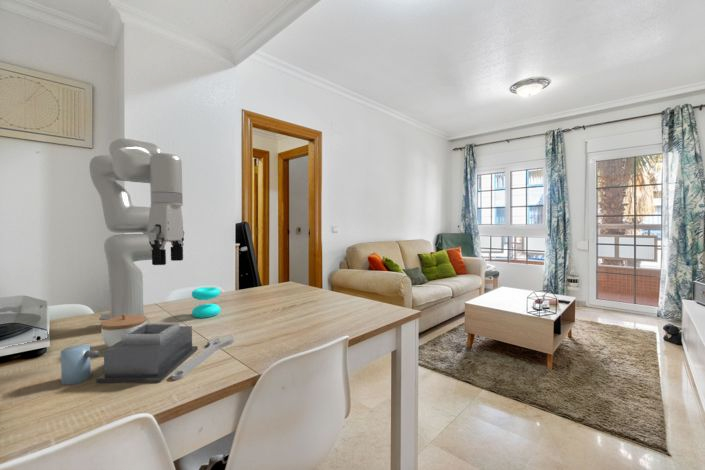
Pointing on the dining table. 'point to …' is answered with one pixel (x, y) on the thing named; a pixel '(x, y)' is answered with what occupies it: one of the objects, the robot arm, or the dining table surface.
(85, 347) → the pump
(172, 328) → the grey open box
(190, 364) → the adjustable wrench
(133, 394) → the dining table surface
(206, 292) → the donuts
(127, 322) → the lidded jar
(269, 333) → the dining table surface
